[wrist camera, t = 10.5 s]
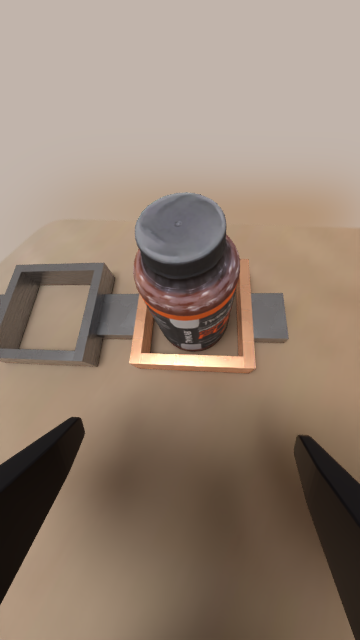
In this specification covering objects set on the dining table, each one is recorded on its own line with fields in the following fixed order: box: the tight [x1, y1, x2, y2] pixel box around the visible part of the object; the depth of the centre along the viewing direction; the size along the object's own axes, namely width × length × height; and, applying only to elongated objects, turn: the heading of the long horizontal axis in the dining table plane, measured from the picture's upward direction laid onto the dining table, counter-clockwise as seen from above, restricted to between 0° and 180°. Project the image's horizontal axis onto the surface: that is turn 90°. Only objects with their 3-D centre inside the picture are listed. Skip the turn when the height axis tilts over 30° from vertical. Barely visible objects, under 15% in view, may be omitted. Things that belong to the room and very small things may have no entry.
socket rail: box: [0, 259, 289, 373], centre depth 19 cm, size 28×9×2 cm, turn 87°
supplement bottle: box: [133, 192, 240, 351], centre depth 14 cm, size 6×6×11 cm
